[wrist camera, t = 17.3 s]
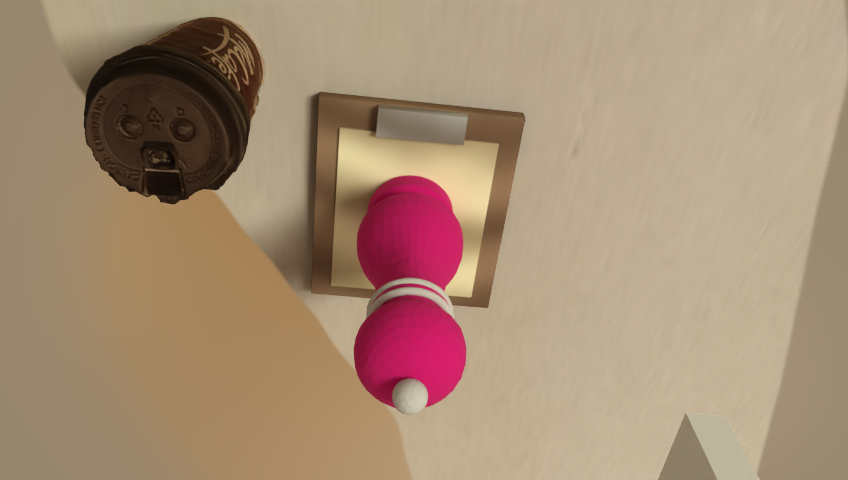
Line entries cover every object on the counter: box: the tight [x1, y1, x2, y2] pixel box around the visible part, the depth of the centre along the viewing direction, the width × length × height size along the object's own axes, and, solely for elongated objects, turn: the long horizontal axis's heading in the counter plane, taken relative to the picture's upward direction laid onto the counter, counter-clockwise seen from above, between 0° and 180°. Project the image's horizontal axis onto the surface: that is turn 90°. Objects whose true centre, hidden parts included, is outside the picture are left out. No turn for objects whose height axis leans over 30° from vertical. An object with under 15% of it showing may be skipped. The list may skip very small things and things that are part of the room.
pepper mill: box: [354, 175, 466, 415], centre depth 42 cm, size 7×7×20 cm
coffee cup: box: [84, 17, 265, 204], centre depth 41 cm, size 9×8×13 cm
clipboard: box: [311, 92, 525, 308], centre depth 51 cm, size 16×14×2 cm
